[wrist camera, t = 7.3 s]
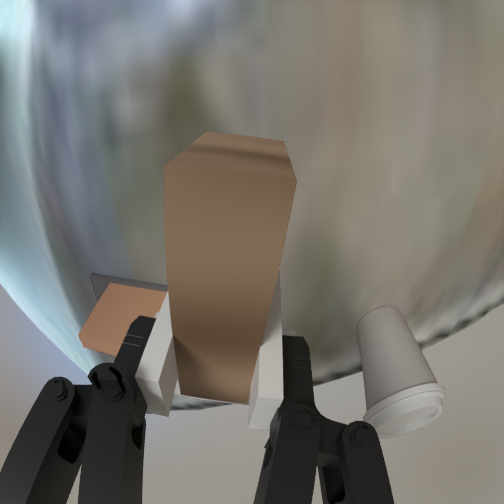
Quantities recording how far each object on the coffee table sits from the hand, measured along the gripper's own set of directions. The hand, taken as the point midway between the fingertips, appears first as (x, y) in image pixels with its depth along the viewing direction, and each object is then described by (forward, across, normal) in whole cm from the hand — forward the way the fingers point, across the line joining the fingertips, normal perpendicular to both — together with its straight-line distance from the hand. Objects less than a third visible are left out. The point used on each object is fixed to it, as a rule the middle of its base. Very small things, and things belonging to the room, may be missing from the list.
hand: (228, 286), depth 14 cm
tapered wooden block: (0, 0, -3) cm, 3 cm away
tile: (+14, -12, -15) cm, 23 cm away
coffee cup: (+14, +20, -16) cm, 29 cm away
